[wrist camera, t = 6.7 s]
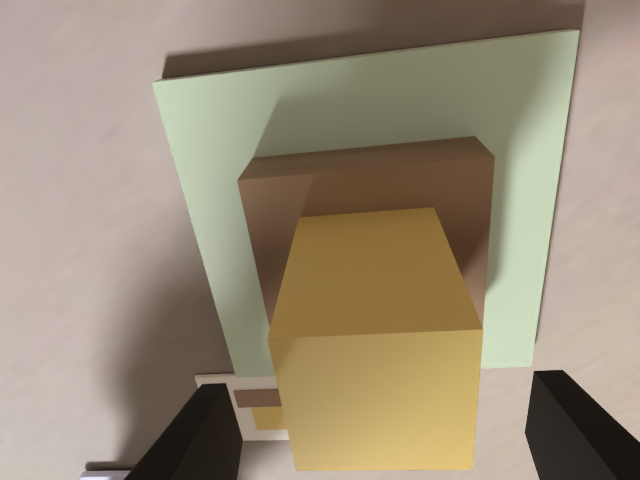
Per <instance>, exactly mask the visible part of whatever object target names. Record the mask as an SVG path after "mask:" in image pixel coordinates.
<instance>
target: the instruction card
mask: <svg viewBox="0 0 640 480" xmlns="http://www.w3.org/2000/svg"><path fill="white" fill-rule="evenodd" d="M195 381H196V384H197V386H198V388H199V387H200V386H201V385H202V384H212V383H226V385H227V388H228V391H229V395H230V398H231V401H232V405H233V408H234V411H235V415H236V418H237V421H238V425H239V428H240V431H241V434H242V438H243V441H255V440H289V436H288V431H287V427H286V422H285V418H284V413H283V408H282V404H281V399H280V395H279V390H278V386H277V381H276V377H275V376H266V377H240V378H236V375H235V373H231V374H205V375H195Z"/></svg>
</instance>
